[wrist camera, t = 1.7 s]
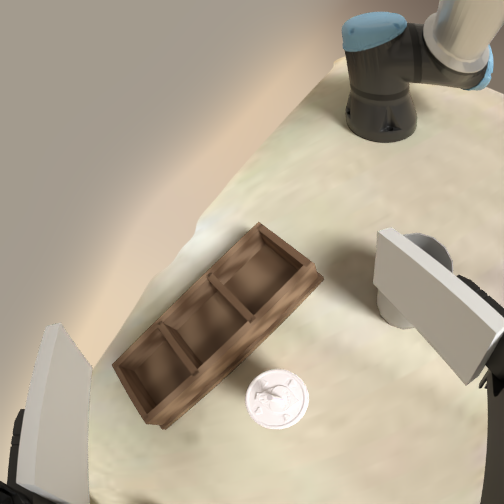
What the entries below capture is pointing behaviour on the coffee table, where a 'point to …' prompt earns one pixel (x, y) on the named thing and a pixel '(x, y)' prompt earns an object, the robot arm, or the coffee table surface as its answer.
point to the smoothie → (277, 399)
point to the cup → (433, 250)
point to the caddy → (215, 325)
